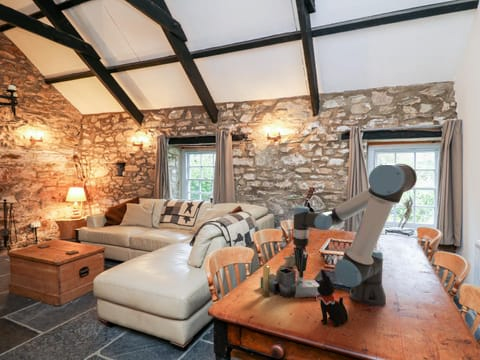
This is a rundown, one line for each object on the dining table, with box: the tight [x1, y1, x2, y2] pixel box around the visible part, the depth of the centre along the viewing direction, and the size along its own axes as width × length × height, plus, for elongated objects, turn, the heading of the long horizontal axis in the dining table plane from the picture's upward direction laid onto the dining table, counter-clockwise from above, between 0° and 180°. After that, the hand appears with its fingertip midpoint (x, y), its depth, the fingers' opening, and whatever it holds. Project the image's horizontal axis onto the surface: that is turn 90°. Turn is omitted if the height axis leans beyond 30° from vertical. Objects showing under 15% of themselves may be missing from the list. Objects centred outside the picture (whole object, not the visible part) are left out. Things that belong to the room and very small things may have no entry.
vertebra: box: [279, 252, 296, 271], centre depth 171 cm, size 20×11×10 cm, turn 140°
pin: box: [262, 264, 270, 298], centre depth 134 cm, size 3×3×14 cm
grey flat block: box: [293, 279, 319, 298], centre depth 136 cm, size 12×8×5 cm, turn 97°
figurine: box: [315, 268, 349, 328], centre depth 111 cm, size 8×13×20 cm, turn 95°
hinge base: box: [260, 267, 297, 299], centre depth 139 cm, size 17×8×12 cm, turn 37°
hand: (300, 282), depth 145 cm, fingers closed
